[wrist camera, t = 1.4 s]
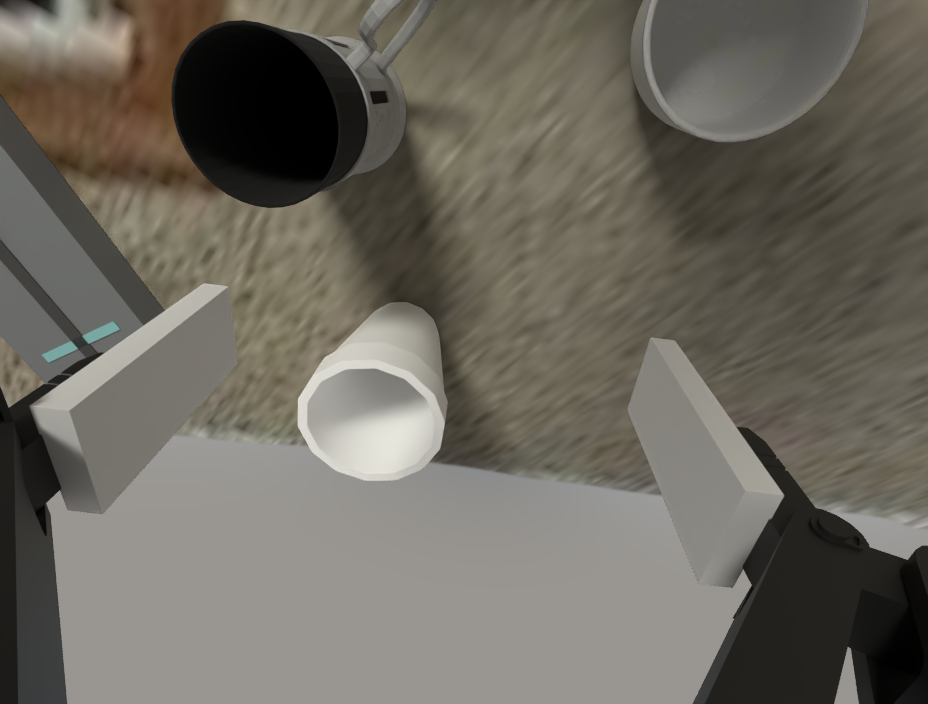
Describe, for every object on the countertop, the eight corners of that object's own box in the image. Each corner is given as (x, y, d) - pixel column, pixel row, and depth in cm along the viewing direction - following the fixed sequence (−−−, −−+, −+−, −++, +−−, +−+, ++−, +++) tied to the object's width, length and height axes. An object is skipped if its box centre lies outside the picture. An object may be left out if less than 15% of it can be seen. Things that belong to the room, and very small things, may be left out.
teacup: (677, 165, 36) (723, 184, 29) (579, 43, 33) (603, 31, 26) (868, -5, 31) (980, -33, 24) (773, -169, 28) (869, -257, 21)
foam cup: (352, 274, 41) (298, 347, 30) (464, 293, 41) (453, 372, 30) (346, 373, 46) (297, 470, 34) (447, 390, 46) (433, 491, 34)
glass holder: (257, 96, 35) (115, 100, 22) (410, -62, 31) (349, -176, 18) (343, 198, 38) (264, 256, 25) (494, 67, 34) (496, 54, 21)
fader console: (-178, 89, 36) (-233, 89, 34) (-67, 7, 34) (-116, 0, 31) (94, 393, 48) (70, 411, 45) (194, 349, 45) (175, 366, 42)
